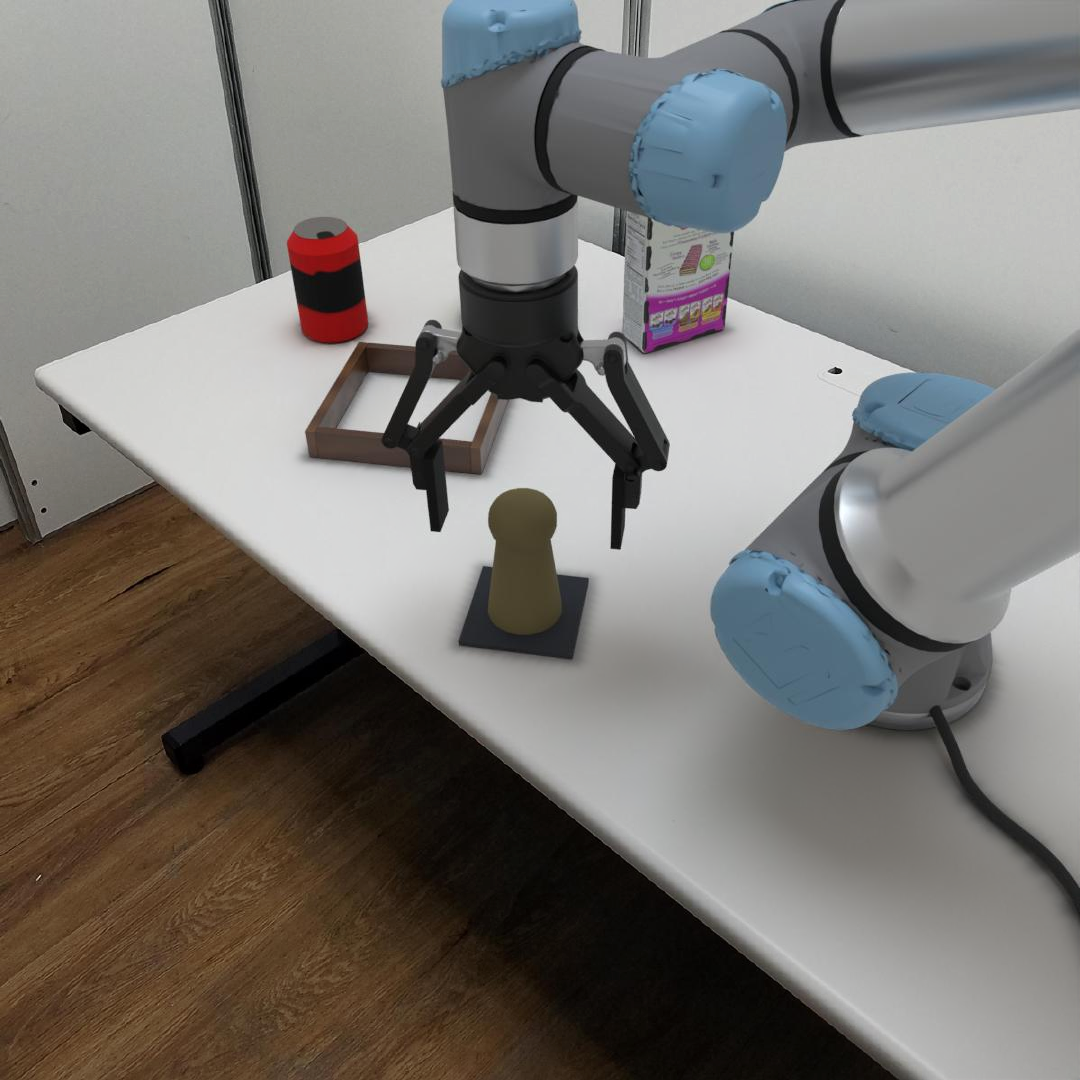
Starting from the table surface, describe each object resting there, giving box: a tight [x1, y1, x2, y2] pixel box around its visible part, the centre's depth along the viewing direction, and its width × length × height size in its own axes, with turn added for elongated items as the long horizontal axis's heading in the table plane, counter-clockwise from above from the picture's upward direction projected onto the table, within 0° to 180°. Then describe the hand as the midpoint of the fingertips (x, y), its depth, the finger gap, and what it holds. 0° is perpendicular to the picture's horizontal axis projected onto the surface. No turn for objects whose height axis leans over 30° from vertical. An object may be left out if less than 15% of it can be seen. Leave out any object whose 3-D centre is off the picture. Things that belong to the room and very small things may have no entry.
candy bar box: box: [622, 211, 735, 354], centre depth 115 cm, size 11×5×16 cm, turn 119°
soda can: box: [286, 216, 369, 344], centre depth 118 cm, size 8×8×12 cm
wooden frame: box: [304, 341, 509, 475], centre depth 107 cm, size 17×17×3 cm
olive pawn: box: [487, 487, 562, 635], centre depth 82 cm, size 6×6×11 cm
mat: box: [458, 565, 589, 660], centre depth 86 cm, size 9×9×1 cm
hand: (527, 529), depth 80 cm, fingers open, 13 cm apart
